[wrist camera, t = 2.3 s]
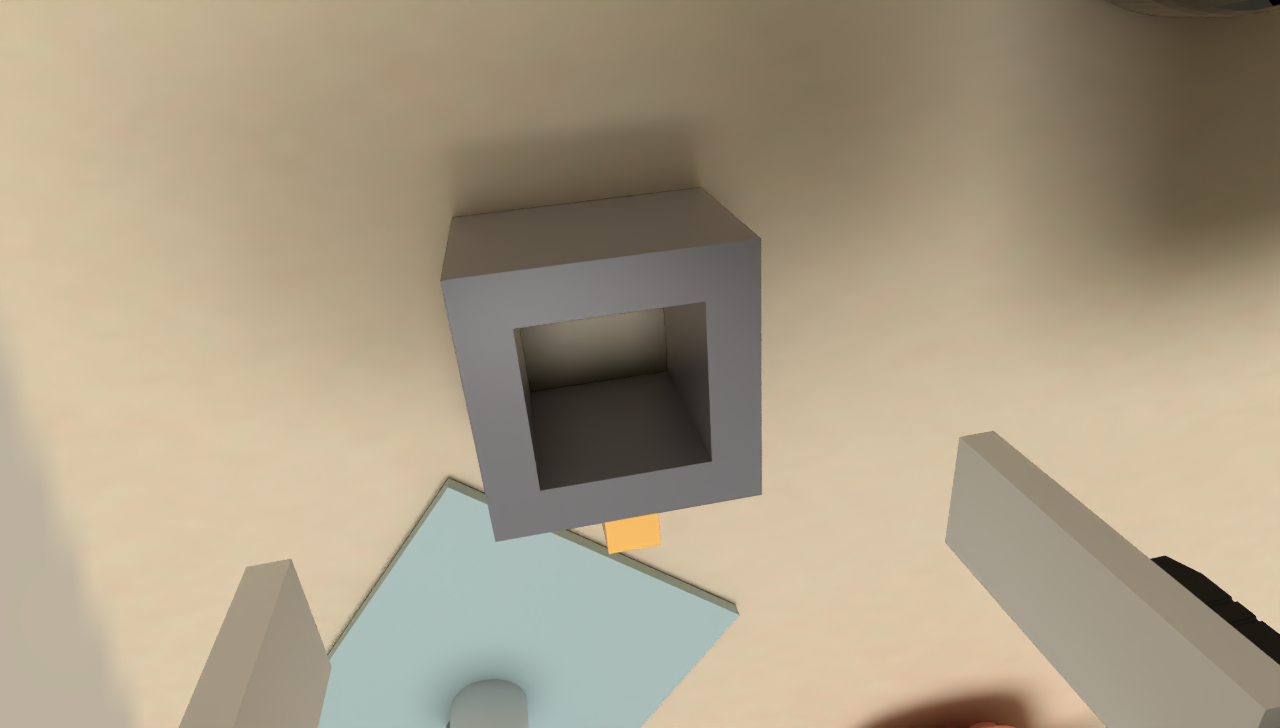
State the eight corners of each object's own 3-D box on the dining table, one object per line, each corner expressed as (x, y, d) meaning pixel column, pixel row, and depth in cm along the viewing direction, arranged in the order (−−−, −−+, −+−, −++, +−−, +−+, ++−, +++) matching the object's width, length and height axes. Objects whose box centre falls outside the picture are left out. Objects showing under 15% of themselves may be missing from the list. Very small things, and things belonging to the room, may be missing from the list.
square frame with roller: (452, 217, 23) (440, 280, 18) (700, 187, 24) (760, 238, 19) (500, 462, 27) (501, 574, 22) (710, 428, 28) (761, 526, 23)
